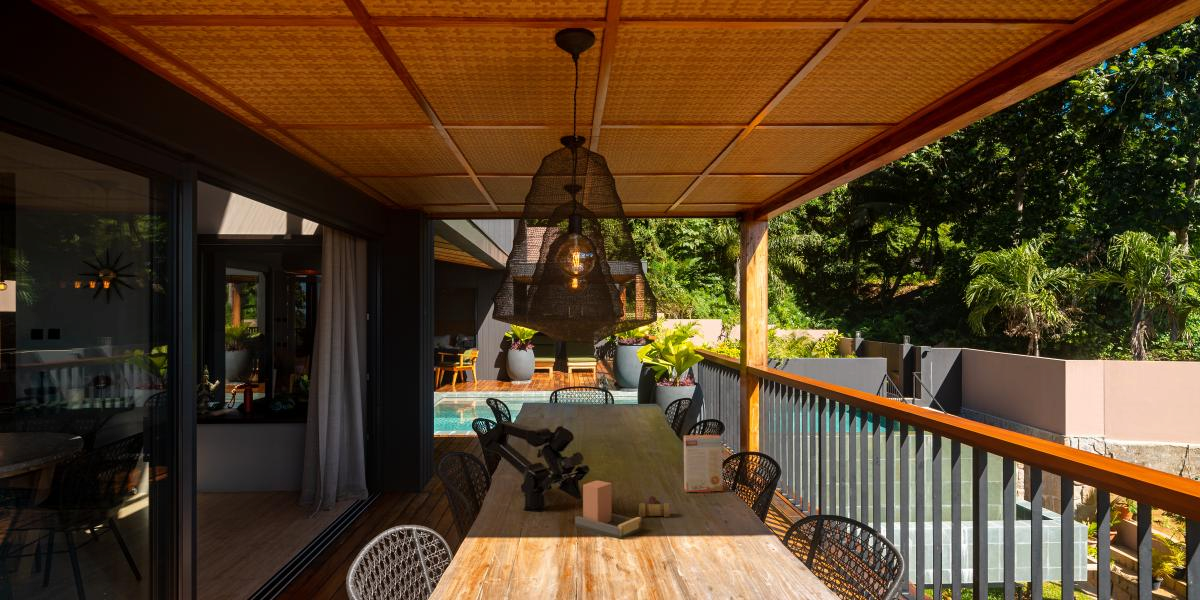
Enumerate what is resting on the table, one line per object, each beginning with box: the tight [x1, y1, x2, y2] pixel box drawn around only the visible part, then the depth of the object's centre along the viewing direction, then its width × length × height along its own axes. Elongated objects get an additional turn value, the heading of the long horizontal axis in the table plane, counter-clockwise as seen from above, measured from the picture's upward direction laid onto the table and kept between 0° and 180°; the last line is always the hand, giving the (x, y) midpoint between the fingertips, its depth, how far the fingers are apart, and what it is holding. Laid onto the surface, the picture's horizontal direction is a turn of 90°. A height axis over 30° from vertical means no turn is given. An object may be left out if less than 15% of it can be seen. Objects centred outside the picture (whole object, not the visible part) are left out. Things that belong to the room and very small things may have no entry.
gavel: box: [638, 495, 671, 518], centre depth 225 cm, size 21×5×10 cm
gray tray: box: [574, 512, 642, 540], centre depth 204 cm, size 18×10×4 cm, turn 51°
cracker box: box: [683, 434, 724, 493], centre depth 247 cm, size 14×6×21 cm, turn 92°
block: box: [582, 479, 612, 523], centre depth 207 cm, size 6×7×12 cm
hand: (579, 498), depth 212 cm, fingers closed
